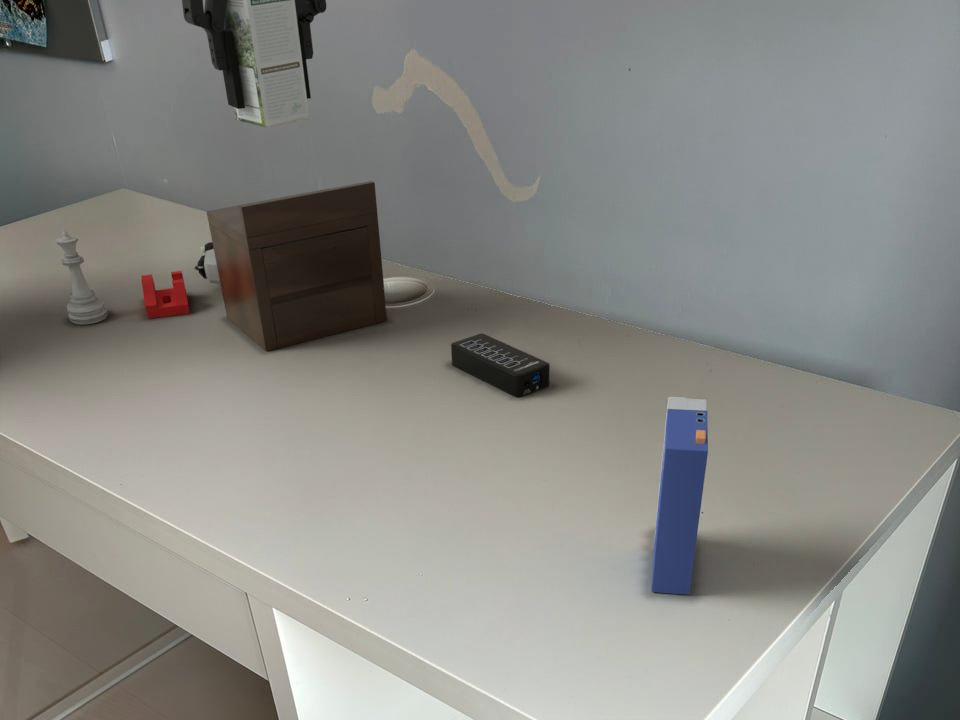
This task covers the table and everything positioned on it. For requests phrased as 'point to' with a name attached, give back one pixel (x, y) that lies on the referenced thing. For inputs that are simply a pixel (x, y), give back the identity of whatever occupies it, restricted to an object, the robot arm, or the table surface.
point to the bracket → (165, 297)
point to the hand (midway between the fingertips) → (269, 101)
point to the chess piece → (80, 287)
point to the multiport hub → (500, 365)
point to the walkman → (680, 494)
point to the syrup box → (268, 61)
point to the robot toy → (208, 264)
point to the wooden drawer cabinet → (301, 264)
